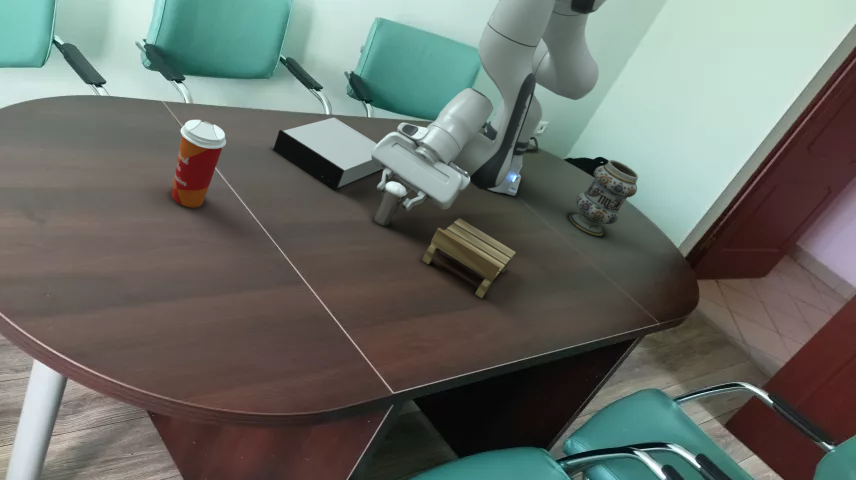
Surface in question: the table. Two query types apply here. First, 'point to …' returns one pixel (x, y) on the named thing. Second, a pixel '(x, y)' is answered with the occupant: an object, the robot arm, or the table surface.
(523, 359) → the table surface
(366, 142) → the disc drive
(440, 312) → the table surface
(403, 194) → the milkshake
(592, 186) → the apothecary jar
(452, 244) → the brown wooden slatted bench
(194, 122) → the paper cup
